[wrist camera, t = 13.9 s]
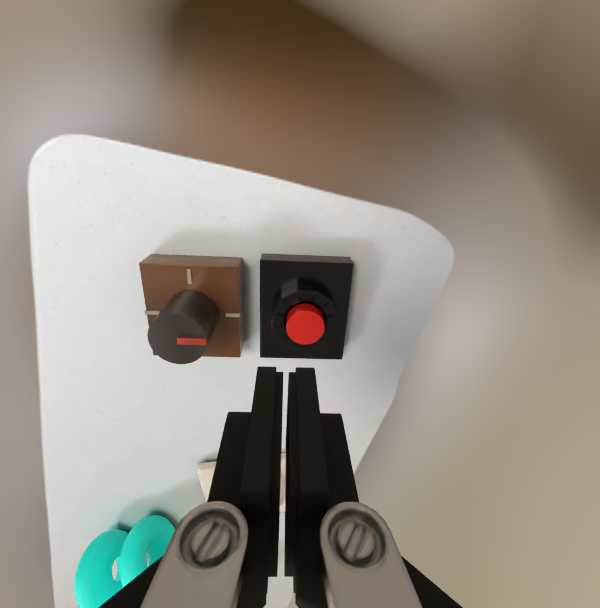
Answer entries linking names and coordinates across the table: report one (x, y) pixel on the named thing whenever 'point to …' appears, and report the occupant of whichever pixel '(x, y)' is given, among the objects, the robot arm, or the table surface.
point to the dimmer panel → (205, 279)
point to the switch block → (303, 289)
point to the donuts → (119, 559)
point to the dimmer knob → (183, 327)
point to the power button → (305, 324)
